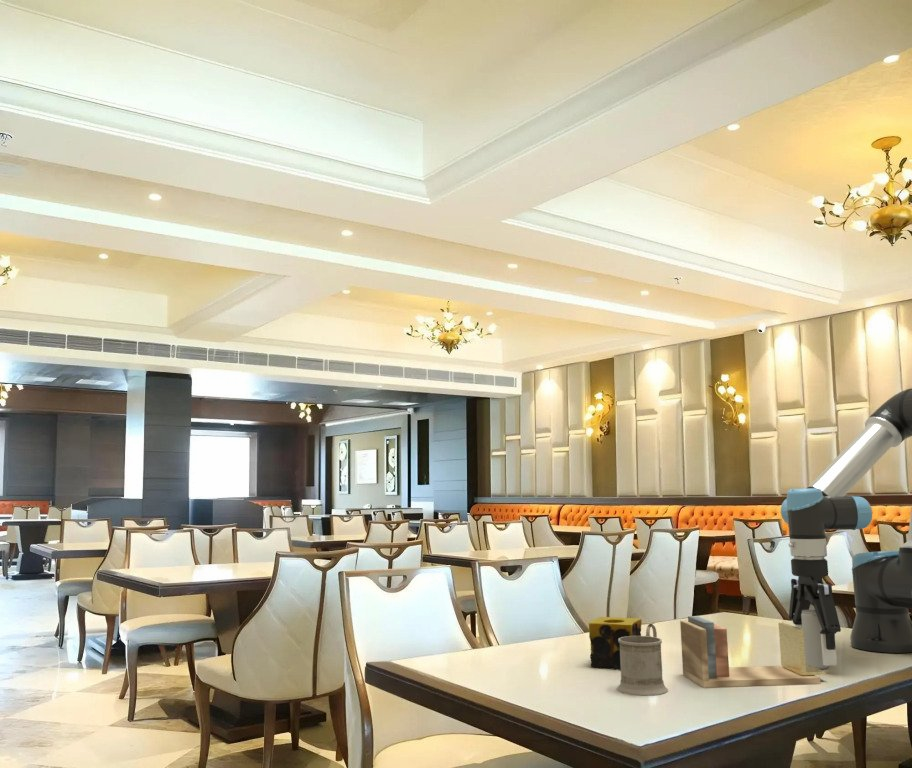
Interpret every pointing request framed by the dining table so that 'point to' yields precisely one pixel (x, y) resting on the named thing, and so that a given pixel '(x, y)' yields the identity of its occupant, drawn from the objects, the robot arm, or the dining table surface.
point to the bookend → (795, 651)
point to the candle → (610, 639)
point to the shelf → (735, 673)
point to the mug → (641, 664)
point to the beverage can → (812, 639)
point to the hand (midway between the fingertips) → (816, 659)
